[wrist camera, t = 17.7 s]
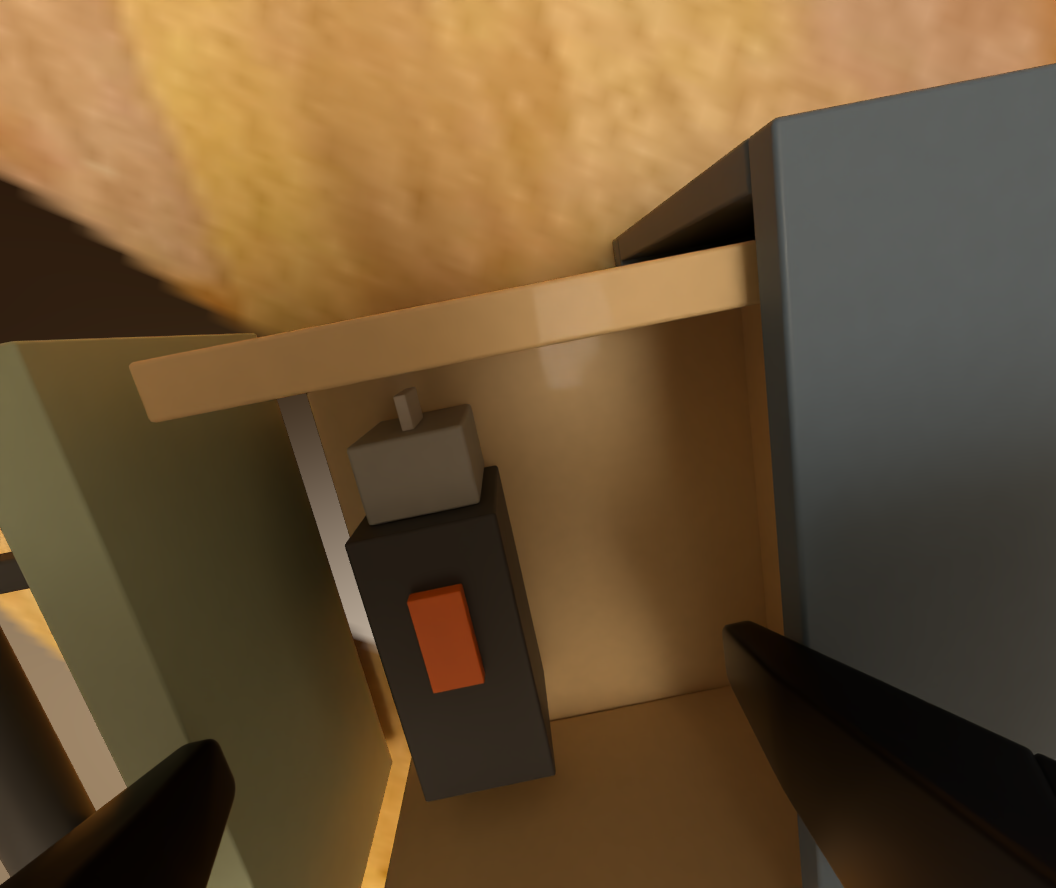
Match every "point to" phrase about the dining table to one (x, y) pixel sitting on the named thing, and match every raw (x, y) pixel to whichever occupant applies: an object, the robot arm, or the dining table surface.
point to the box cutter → (448, 602)
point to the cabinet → (906, 385)
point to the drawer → (316, 609)
